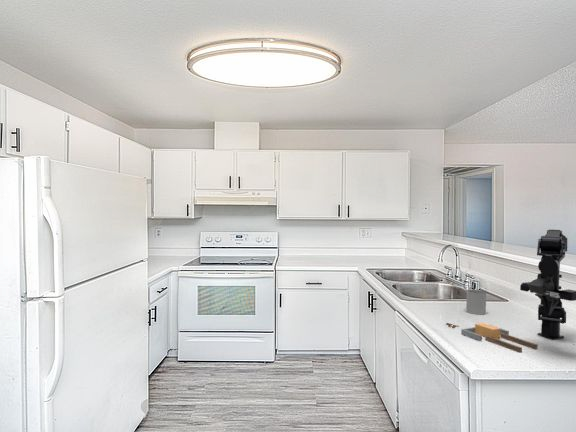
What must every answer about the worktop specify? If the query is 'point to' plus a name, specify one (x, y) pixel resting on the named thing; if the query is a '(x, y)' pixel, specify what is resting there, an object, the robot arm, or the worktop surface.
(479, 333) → the block
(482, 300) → the cup
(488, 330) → the block
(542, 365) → the worktop surface
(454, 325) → the hand saw
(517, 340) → the slot guide
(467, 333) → the tray
